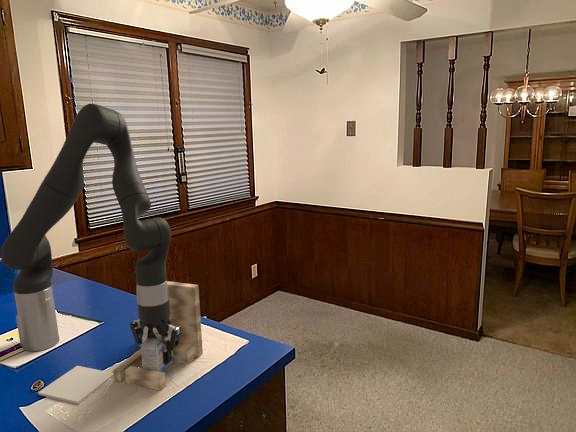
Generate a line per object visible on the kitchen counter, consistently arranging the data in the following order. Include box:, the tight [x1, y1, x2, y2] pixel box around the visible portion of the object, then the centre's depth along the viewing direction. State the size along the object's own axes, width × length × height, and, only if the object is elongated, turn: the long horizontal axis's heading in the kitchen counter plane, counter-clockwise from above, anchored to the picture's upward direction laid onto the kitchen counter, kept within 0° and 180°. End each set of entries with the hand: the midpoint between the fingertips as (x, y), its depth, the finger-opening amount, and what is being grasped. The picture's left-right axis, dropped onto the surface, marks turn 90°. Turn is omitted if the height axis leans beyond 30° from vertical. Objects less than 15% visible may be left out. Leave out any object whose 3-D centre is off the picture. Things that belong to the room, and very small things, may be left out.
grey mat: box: [37, 365, 114, 405], centre depth 106 cm, size 12×12×1 cm
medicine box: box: [140, 331, 173, 373], centre depth 110 cm, size 8×4×9 cm, turn 168°
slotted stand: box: [112, 280, 204, 392], centre depth 111 cm, size 14×18×20 cm
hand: (158, 361), depth 110 cm, fingers closed on medicine box, 4 cm apart
